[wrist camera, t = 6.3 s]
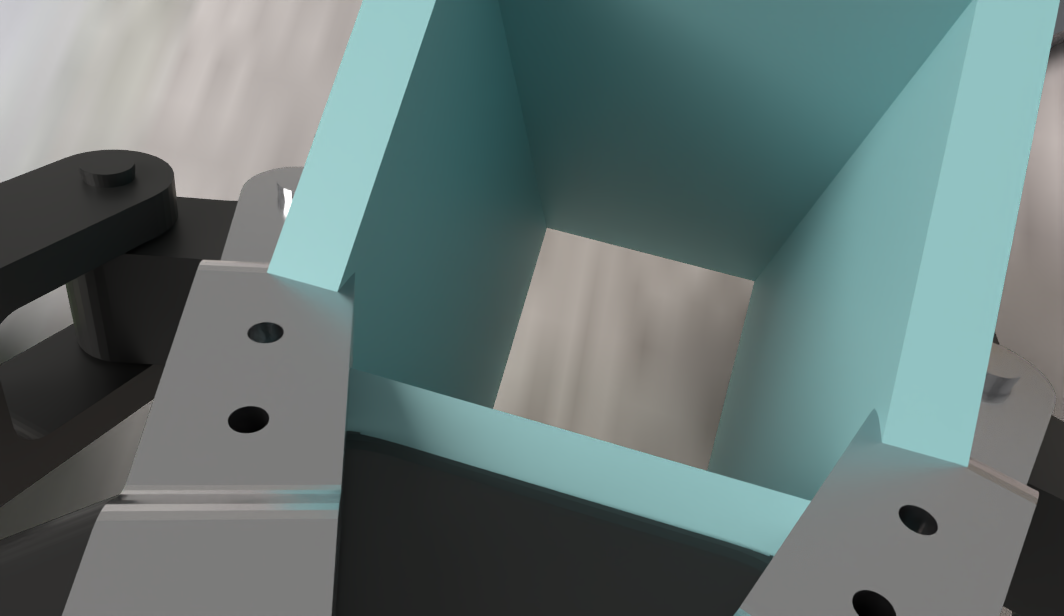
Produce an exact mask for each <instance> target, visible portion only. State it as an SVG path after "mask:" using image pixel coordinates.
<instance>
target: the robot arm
mask: <svg viewBox="0 0 1064 616" xmlns="http://www.w3.org/2000/svg"><path fill="white" fill-rule="evenodd" d="M303 169H304V167H285V168H278V169H273V170H269V171H266V172H263V173H260V174H258V175H256V176H254V177H252V178H251V179H250V180H248V181H247V182H246V183H245V184H244V186H243V188H242V190H241V193H240V197H239V200H238V201H223V200H211V199H198V198H185V197H176V189H175V180H174V172H173V170H172V168H171V167H170V165H169V164H168V163H166V162H165V161H163V160H162V159H160V158H158V157H155V156H152V155H149V154H146V153H142V152H136V151H129V150H99V151H91V152H85V153H81V154H76V155H73V156H70V157H67V158H64V159H61V160H59V161H56V162H54V163H51V164H48V165H46V166H43V167H41V168H38V169H36V170H33V171H30V172H28V173H25V174H23V175H20V176H17V177H15V178H12V179H10V180H7V181H4V182H2V183H0V324H1V323H2V322H3V320H4V319H5V318H6V317H7V316H8V315H9V314H11V313H12V312H13V311H15V310H16V309H18V308H20V307H22V306H24V305H26V304H28V303H30V302H31V301H33V300H35V299H37V298H39V297H41V296H43V295H45V294H47V293H49V292H51V291H53V290H55V289H57V288H58V287H60V286H62V285H64V284H66V289H67V293H68V298H69V303H70V308H71V313H72V317H73V322H74V324H72V325H70V326H68V327H67V328H65V329H63V330H61V331H60V332H58V333H56V334H54V335H53V336H51V337H49V338H47V339H45V340H44V341H42V342H40V343H38V344H37V345H35V346H33V347H31V348H30V349H28V350H26V351H24V352H22V353H21V354H19V355H17V356H15V357H14V358H12V359H10V360H8V361H7V362H5V363H3V364H1V365H0V507H1V506H2V505H4V504H5V503H6V502H8V501H9V500H11V499H12V498H14V497H15V496H16V495H18V494H19V493H21V492H22V491H23V490H25V489H26V488H28V487H29V486H31V485H32V484H33V483H35V482H36V481H38V480H39V479H40V478H42V477H43V476H45V475H46V474H48V473H49V472H50V471H52V470H53V469H55V468H56V467H57V466H59V465H60V464H62V463H63V462H65V461H66V460H67V459H69V458H70V457H72V456H73V455H74V454H76V453H77V452H79V451H80V450H82V449H83V448H84V447H86V446H87V445H89V444H90V443H91V442H93V441H94V440H96V439H97V438H99V437H100V436H101V435H103V434H104V433H106V432H107V431H109V430H110V429H111V428H113V427H114V426H116V425H117V424H118V423H120V422H121V421H123V420H124V419H126V418H127V417H128V416H130V415H131V414H133V413H134V412H135V411H137V410H138V409H140V408H141V407H143V406H144V405H145V404H147V403H148V402H150V401H151V400H152V399H154V400H153V403H152V406H151V409H150V412H149V415H148V418H147V421H146V424H145V427H144V430H143V433H142V436H141V439H140V442H139V445H138V448H137V451H136V454H135V457H134V460H133V463H132V466H131V469H130V472H129V475H128V478H127V481H126V484H125V486H124V488H123V490H122V492H121V493H120V494H119V495H116V496H114V497H111V498H109V499H106V500H103V501H101V502H98V503H96V504H93V505H90V506H88V507H85V508H83V509H80V510H77V511H75V512H72V513H70V514H67V515H65V516H62V517H59V518H57V519H54V520H52V521H49V522H46V523H44V524H41V525H39V526H36V527H33V528H31V529H28V530H26V531H23V532H20V533H18V534H15V535H13V536H10V537H7V538H5V539H2V540H0V616H1000V613H1001V610H1002V607H1003V606H1004V607H1006V608H1008V609H1010V610H1011V611H1012V616H1064V422H1063V421H1061V420H1059V419H1057V418H1056V417H1054V416H1052V413H1053V410H1054V407H1055V403H1056V395H1055V391H1054V389H1053V387H1052V385H1051V384H1050V382H1049V381H1048V380H1047V378H1046V377H1045V376H1044V375H1043V374H1042V373H1041V372H1040V371H1039V370H1038V369H1037V368H1036V367H1035V366H1033V365H1032V364H1031V363H1030V362H1028V361H1027V360H1025V359H1024V358H1022V357H1021V356H1019V355H1017V354H1016V353H1014V352H1012V351H1010V350H1008V349H1006V348H1004V347H1002V346H1000V345H999V342H998V339H997V336H996V333H995V332H994V337H993V342H992V347H991V352H990V357H989V362H988V367H987V372H986V377H985V382H984V387H983V392H982V398H981V403H980V408H979V413H978V418H977V423H976V428H975V433H974V438H973V443H972V448H971V453H970V458H969V463H968V467H966V466H963V465H960V464H957V463H953V462H950V461H946V460H943V459H939V458H935V457H932V456H928V455H925V454H921V453H917V452H914V451H910V450H906V449H903V448H899V447H896V446H892V445H888V444H885V443H882V439H881V430H880V423H879V417H878V414H877V411H876V410H875V408H874V409H873V410H872V411H871V413H870V414H869V416H868V417H867V418H866V420H865V421H864V423H863V424H862V426H861V427H860V429H859V430H858V432H857V433H856V435H855V436H854V438H853V439H852V441H851V442H850V444H849V445H848V447H847V448H846V450H845V451H844V453H843V454H842V456H841V457H840V459H839V460H838V462H837V463H836V465H835V466H834V468H833V469H832V471H831V472H830V474H829V475H828V477H827V478H826V480H825V481H824V483H823V484H822V486H821V487H820V489H819V490H818V491H817V493H816V494H815V496H814V497H813V499H812V500H811V502H810V503H809V505H808V506H807V508H806V509H805V511H804V512H803V514H802V515H801V517H800V518H799V520H798V521H797V523H796V524H795V526H794V527H793V529H792V530H791V532H790V533H789V535H788V536H787V538H786V539H785V541H784V542H783V544H782V545H781V547H780V548H779V550H778V551H777V553H776V554H775V556H772V555H770V556H767V555H764V554H761V553H759V552H756V551H753V550H751V549H748V548H744V547H741V546H738V545H735V544H732V543H729V542H726V541H722V540H719V539H716V538H712V537H709V536H706V535H702V534H699V533H696V532H692V531H689V530H686V529H682V528H679V527H675V526H672V525H669V524H665V523H662V522H659V521H655V520H652V519H649V518H645V517H642V516H639V515H635V514H632V513H629V512H625V511H622V510H619V509H615V508H612V507H609V506H605V505H602V504H599V503H595V502H592V501H588V500H585V499H582V498H578V497H575V496H572V495H568V494H565V493H562V492H558V491H555V490H552V489H548V488H545V487H542V486H538V485H535V484H532V483H528V482H525V481H522V480H518V479H515V478H512V477H508V476H505V475H501V474H498V473H495V472H491V471H488V470H485V469H481V468H478V467H475V466H471V465H468V464H465V463H461V462H458V461H455V460H451V459H448V458H445V457H441V456H438V455H435V454H431V453H428V452H425V451H421V450H418V449H414V448H411V447H408V446H404V445H401V444H398V443H394V442H390V441H387V440H383V439H380V438H375V437H371V436H367V435H362V434H360V433H361V432H355V431H347V425H348V408H349V392H350V369H351V368H353V335H354V298H355V273H354V274H353V275H352V276H351V277H350V278H349V279H348V280H347V281H346V282H345V284H344V285H343V286H342V287H341V288H340V289H339V291H338V292H336V291H332V290H329V289H325V288H321V287H318V286H314V285H311V284H307V283H303V282H300V281H296V280H292V279H289V278H285V277H282V276H278V275H274V274H271V273H267V270H268V268H269V265H270V262H271V259H272V256H273V254H274V251H275V248H276V245H277V242H278V239H279V237H280V234H281V231H282V228H283V225H284V222H285V220H286V217H287V214H288V211H289V208H290V206H291V203H292V200H293V197H294V194H295V191H296V189H297V186H298V183H299V180H300V177H301V174H302V172H303Z"/></svg>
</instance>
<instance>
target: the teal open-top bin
mask: <svg viewBox="0 0 1064 616" xmlns="http://www.w3.org/2000/svg"><path fill="white" fill-rule="evenodd" d="M1059 3H1060V0H363V2H362V5H361V8H360V11H359V13H358V16H357V19H356V22H355V25H354V28H353V30H352V33H351V36H350V39H349V42H348V44H347V47H346V50H345V53H344V56H343V59H342V61H341V64H340V67H339V70H338V73H337V76H336V78H335V81H334V84H333V87H332V90H331V93H330V95H329V98H328V101H327V104H326V107H325V109H324V112H323V115H322V118H321V121H320V124H319V126H318V129H317V132H316V135H315V138H314V141H313V143H312V146H311V149H310V152H309V155H308V157H307V160H306V163H305V166H304V169H303V172H302V174H301V177H300V180H299V183H298V186H297V189H296V191H295V194H294V197H293V200H292V203H291V206H290V208H289V211H288V214H287V217H286V220H285V222H284V225H283V228H282V231H281V234H280V237H279V239H278V242H277V245H276V248H275V251H274V254H273V256H272V259H271V262H270V265H269V268H268V270H267V273H271V274H274V275H278V276H282V277H285V278H289V279H292V280H296V281H300V282H303V283H307V284H311V285H314V286H318V287H321V288H325V289H329V290H332V291H336V292H338V291H339V289H340V288H341V287H342V286H343V285H344V284H345V282H346V281H347V280H348V279H349V278H350V277H351V276H352V275H353V274H354V273H355V298H354V335H353V368H351V369H350V392H349V408H348V425H347V431H355V432H361V433H360V434H362V435H367V436H371V437H375V438H380V439H383V440H387V441H390V442H394V443H398V444H401V445H404V446H408V447H411V448H414V449H418V450H421V451H425V452H428V453H431V454H435V455H438V456H441V457H445V458H448V459H451V460H455V461H458V462H461V463H465V464H468V465H471V466H475V467H478V468H481V469H485V470H488V471H491V472H495V473H498V474H501V475H505V476H508V477H512V478H515V479H518V480H522V481H525V482H528V483H532V484H535V485H538V486H542V487H545V488H548V489H552V490H555V491H558V492H562V493H565V494H568V495H572V496H575V497H578V498H582V499H585V500H588V501H592V502H595V503H599V504H602V505H605V506H609V507H612V508H615V509H619V510H622V511H625V512H629V513H632V514H635V515H639V516H642V517H645V518H649V519H652V520H655V521H659V522H662V523H665V524H669V525H672V526H675V527H679V528H682V529H686V530H689V531H692V532H696V533H699V534H702V535H706V536H709V537H712V538H716V539H719V540H722V541H726V542H729V543H732V544H735V545H738V546H741V547H744V548H748V549H751V550H753V551H756V552H759V553H761V554H764V555H767V556H770V555H772V556H775V554H776V553H777V551H778V550H779V548H780V547H781V545H782V544H783V542H784V541H785V539H786V538H787V536H788V535H789V533H790V532H791V530H792V529H793V527H794V526H795V524H796V523H797V521H798V520H799V518H800V517H801V515H802V514H803V512H804V511H805V509H806V508H807V506H808V505H809V503H810V502H811V500H812V499H813V497H814V496H815V494H816V493H817V491H818V490H819V489H820V487H821V486H822V484H823V483H824V481H825V480H826V478H827V477H828V475H829V474H830V472H831V471H832V469H833V468H834V466H835V465H836V463H837V462H838V460H839V459H840V457H841V456H842V454H843V453H844V451H845V450H846V448H847V447H848V445H849V444H850V442H851V441H852V439H853V438H854V436H855V435H856V433H857V432H858V430H859V429H860V427H861V426H862V424H863V423H864V421H865V420H866V418H867V417H868V416H869V414H870V413H871V411H872V410H873V409H874V408H875V410H876V411H877V414H878V417H879V423H880V430H881V439H882V443H885V444H888V445H892V446H896V447H899V448H903V449H906V450H910V451H914V452H917V453H921V454H925V455H928V456H932V457H935V458H939V459H943V460H946V461H950V462H953V463H957V464H960V465H963V466H966V467H968V463H969V458H970V453H971V448H972V443H973V438H974V433H975V428H976V423H977V418H978V413H979V408H980V403H981V398H982V392H983V387H984V382H985V377H986V372H987V367H988V362H989V357H990V352H991V347H992V342H993V337H994V332H995V327H996V322H997V317H998V311H999V306H1000V301H1001V296H1002V291H1003V286H1004V281H1005V276H1006V271H1007V266H1008V261H1009V256H1010V251H1011V246H1012V241H1013V236H1014V230H1015V225H1016V220H1017V215H1018V210H1019V205H1020V200H1021V195H1022V190H1023V185H1024V180H1025V175H1026V170H1027V165H1028V160H1029V155H1030V150H1031V144H1032V139H1033V134H1034V129H1035V124H1036V119H1037V114H1038V109H1039V104H1040V99H1041V94H1042V89H1043V84H1044V79H1045V74H1046V69H1047V63H1048V58H1049V53H1050V48H1051V43H1052V38H1053V33H1054V28H1055V23H1056V18H1057V13H1058V8H1059ZM547 228H551V229H555V230H559V231H562V232H566V233H570V234H574V235H578V236H582V237H586V238H590V239H593V240H597V241H601V242H605V243H609V244H613V245H617V246H621V247H624V248H628V249H632V250H636V251H640V252H644V253H648V254H652V255H655V256H659V257H663V258H667V259H671V260H675V261H679V262H683V263H687V264H690V265H694V266H698V267H702V268H706V269H710V270H714V271H718V272H721V273H725V274H729V275H733V276H737V277H741V278H745V279H749V280H752V281H755V282H754V286H753V290H752V294H751V298H750V302H749V306H748V310H747V314H746V318H745V322H744V326H743V330H742V334H741V338H740V342H739V346H738V350H737V354H736V358H735V362H734V366H733V370H732V374H731V378H730V382H729V386H728V390H727V394H726V398H725V402H724V406H723V410H722V414H721V418H720V422H719V426H718V430H717V434H716V438H715V442H714V446H713V450H712V454H711V458H710V462H709V466H708V470H707V471H705V470H702V469H698V468H695V467H692V466H688V465H685V464H681V463H678V462H674V461H671V460H667V459H664V458H660V457H657V456H654V455H650V454H647V453H643V452H640V451H636V450H633V449H629V448H626V447H622V446H619V445H616V444H612V443H609V442H605V441H602V440H598V439H595V438H591V437H588V436H584V435H581V434H578V433H574V432H571V431H567V430H564V429H560V428H557V427H553V426H550V425H546V424H543V423H540V422H536V421H533V420H529V419H526V418H522V417H519V416H515V415H512V414H508V413H505V412H502V411H498V410H495V409H493V407H494V403H495V400H496V397H497V393H498V390H499V386H500V383H501V380H502V376H503V373H504V370H505V366H506V363H507V360H508V356H509V353H510V350H511V346H512V343H513V339H514V336H515V333H516V329H517V326H518V323H519V319H520V316H521V313H522V309H523V306H524V302H525V299H526V296H527V292H528V289H529V286H530V282H531V279H532V276H533V272H534V269H535V265H536V262H537V259H538V255H539V252H540V249H541V245H542V242H543V239H544V235H545V232H546V229H547Z"/></svg>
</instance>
